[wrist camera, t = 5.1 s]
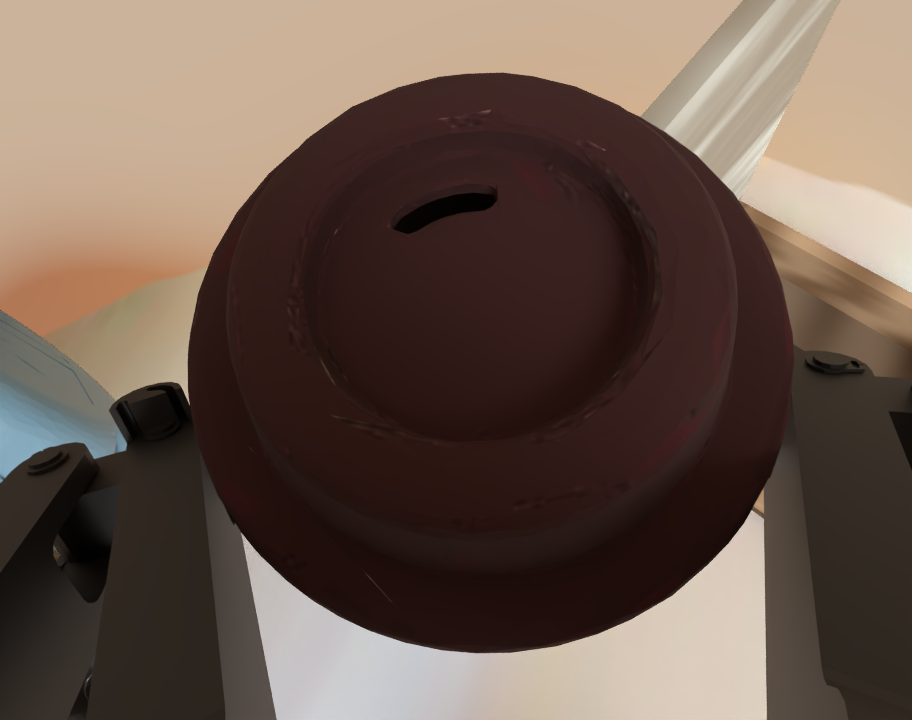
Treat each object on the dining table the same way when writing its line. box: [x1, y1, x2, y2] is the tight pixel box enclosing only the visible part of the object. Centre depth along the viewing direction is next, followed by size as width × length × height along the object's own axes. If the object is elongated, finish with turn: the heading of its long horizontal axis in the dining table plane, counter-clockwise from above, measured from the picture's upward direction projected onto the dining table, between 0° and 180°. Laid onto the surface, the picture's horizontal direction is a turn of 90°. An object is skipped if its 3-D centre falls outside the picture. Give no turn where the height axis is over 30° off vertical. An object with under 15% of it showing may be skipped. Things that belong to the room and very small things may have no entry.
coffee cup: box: [188, 73, 794, 653], centre depth 13 cm, size 10×10×15 cm
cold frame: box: [641, 0, 912, 518], centre depth 22 cm, size 24×16×22 cm, turn 50°
